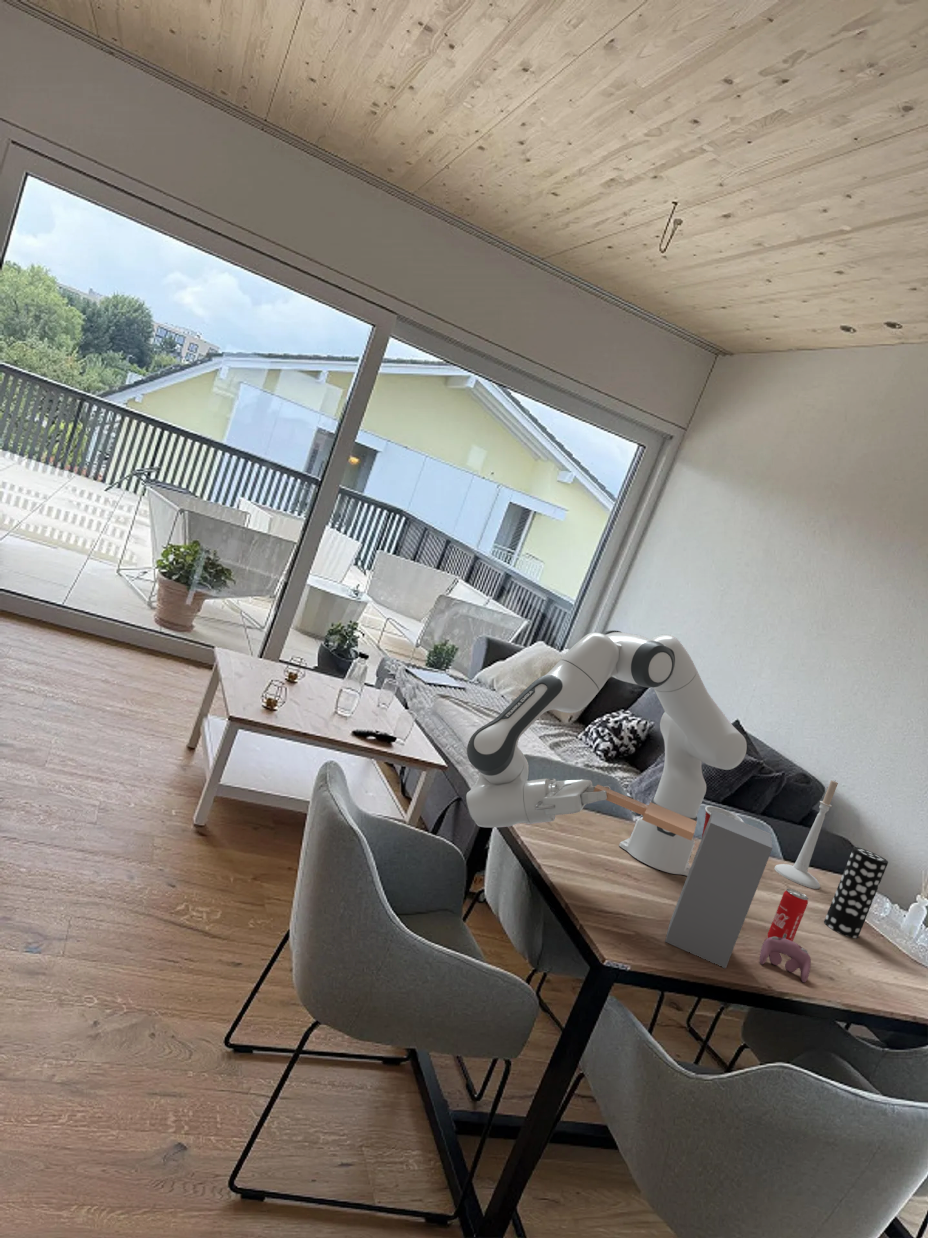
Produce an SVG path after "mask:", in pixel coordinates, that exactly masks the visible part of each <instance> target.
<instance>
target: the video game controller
mask: <svg viewBox="0 0 928 1238" xmlns="http://www.w3.org/2000/svg"><path fill="white" fill-rule="evenodd" d="M782 955H785V956H787V957H789V958H790V959H788V960H787V961H786V962H785V964H784V965H785V966H784V967H785V970H786V971H787V972H789V973H794V972H796V971H797V970H798V969H799V971H800V980H801V982H802V983H806V982H807V981H808V979H809V976H810V973H811V972H810V970H811V965H812V964H811V963H812V962H811V961H812V959H811V955H810V954H809V951H808V950H807V949H805V948H803V946H801V945H800V944H798V943H797V942H795V941H794V940H793V941H790V940H788V939H785V938H780V937H769V938H768V937H767V938H766V939H764V941H763V943H762V945H761V949H760V953H759V963H760V965H764V964H765V963H766V961H767V960H768V958H769V962H770V964H771V965H772V966H773V965H774V966H779V965H781V964H782V961H783V957H782Z"/></svg>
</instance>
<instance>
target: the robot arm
mask: <svg viewBox="0 0 928 1238" xmlns="http://www.w3.org/2000/svg"><path fill="white" fill-rule="evenodd" d="M610 678H614V679H616V680H619V681H621V682H623V683H624V682H625V683H629V684H633V685H638V686H640V687H643V688H652V689H653V690H654V693H655V694H656V696H657V699H658V701H659V703H660V704H661V707H662V709H663V711H664V712H663V714H662V715H661V718H660V720H659V728H660V729H659V730H660V733H661V735H662V738H663V743H664V764H663V771H662V774H661V777H660V780H659V783H658V786H657V789H656V792H655V795H654V798H653V799H651V800H650V802H652V803H654V804H656V805H659V806H661V807H664V808H666V809H668V810H671V811H673V812H676V813H678V814H680V815H683V816H685V817H688V818H690V819H692V820H695V821H697V822H698V813H699V811H700V808H701V805H702V802H703V800H704V797H705V795H706V792H707V783H706V781H705V778H704V775H703V771H702V770H703V769H702V765H703V764H705V765H707V766H710V767H713V768H716V769H719V770H720V769H721V770H725V771H727V770H728V771H729V770H733V769H734V768H737V767H738V766H739V765H741V763H742V762H743V761H744V758H745V757H746V754H747V747H748V745H747V744H748V743H747V740H746V737H745V736H744V735H743V734H742V733H741V732H740V731H739V730H738V729H737V728H736V726H734V725H733V724H732V723H731V721H730V720H729V719H728V717H727V716H726V715H725V714H724V712H723V711H722V710H721V708H720V706H718V704H717V703H716V702H715V700H714V698H713V697H712V696H711V695H710V693H709V692H708V690H707V688H706V686H705V684H704V682H703V680H702V678H701V676H700V673H699V672H698V669H697V667H696V665H695V663H694V661H693V659H692V658H691V656H690V654H689V652H688V650H687V649H686V648H685V647H684V645H683V644H682V642H681V641H680V640H679V639H678V638H677V637H675V636H673V635H671V634H660V635H656V636H654V637H652V638H650V639H649V638H648V637H645V636H642V635H638V634H633V633H628V632H622V631H620V630H605V631H602V632H597V631H596V632H590V633H588V634H585V635H584V636H583V637H582V638H580V639H578V641H577V642H576V643H575V644H574V645H572V647H570V649H569V650H567V651H566V653H564V654H563V656H561V658H560V659H559V660H558V662H557V663H556V664H555V665H554V666H553V667H552V668H551V669H550V670H549V671H548V672H547V673H546V674H545V675H542V676H540V677H538V678H537V679H536V680H534V681H533V682H532V683H531V684H529V685H528V686H527V688H525V689H524V690H523V691H522V692H521V693H520V694H518V696H517V697H516V698H515V699H514V700H512V702H511V703H510V704H509V705H508V706H507V707H506V708H505V709H504V710H503V711H502V712H501V713H500V714H499V715H498V716H496V717H495V718H494V719H493V720H491V721H490V722H487V723H485V724H484V725H482V726H481V727H479V728H478V729H477V730H476V731H474V732H473V734H472V735H471V736H470V738H469V740H468V743H467V747H466V755H467V758H468V759H467V760H468V761H469V763H470V764H471V765H472V766H473V767H474V768H475V769H476V770H477V771H478V773H479V775H478V777H477V780H476V782H475V784H474V785H473V786H472V788H471V789H470V790H469V791H467V793H466V795H465V804H466V809H467V812H468V814H469V817H470V819H471V820H472V821H473V823H474V824H476V825H477V826H478V827H481V828H505V827H506V828H507V827H513V826H515V825H518V824H529V825H532V824H541V823H550V822H554V821H555V818H556V816H559V815H562V816H563V815H571V814H577V813H580V812H581V811H582V810H583V808H584V807H585V806H586V805H588V804H593V803H596V802H600V801H607V800H606V799H607V797H608V796H607V791H605V790H602V791H597V792H593V791H594V789H595V787H596V786H597V785H593V782H592V780H590V779H569V780H557V779H556V778H539V779H531V780H529V776H530V766H529V762H528V760H527V757H525V755H524V753H523V752H522V750H521V749H520V748H519V746H518V743H519V740H520V738H521V737H522V735H523V734H524V733H525V732H526V731H527V730H528V729H530V727H531V726H532V725H533V724H534V723H535V722H536V721H537V720H538V719H539V718H540V717H541V716H542V715H543V714H545V713H547V712H549V711H551V710H555V711H559V712H561V713H568V714H569V713H570V714H571V713H577V712H580V711H581V710H583V709H584V708H586V706H588V705H589V704H590V703H591V702H592V701H593V699H595V697H596V695H598V693H599V692H600V691H601V689H602V688H603V687H604V686H605V684H606V682H607V681H608V680H609V679H610ZM702 763H703V764H702ZM602 786H603V785H602ZM603 787H606V788H608V789H610V790H612V789H611V787H610V785H605V786H603ZM642 819H643V816H642V817H640V818H637V820H636V821H635V824H634V827H633V830H632V831H631V834H630V837H628V838H626V839H625V840H622V841H620V842H619V845H618V846H619V847H620V848H622V849H623V850H625V851H626V852H628V853H629V855H631V856H632V857H633V858H635V859H636V860H638V861H640V862H641V863H644V864H645V865H648V866H649V867H652V868H654V869H656V870H660V871H662V872H665V873H669V874H674V875H683V876H686V877H687V876H688V873H689V871H690V868H691V865H690V863H689V861H690V859H691V856H692V853H693V849H694V847H695V844H696V842H695V839H694V837H693V838H692V840H688V839H686V838H684V837H681V836H679V835H677V834H674V833H672V832H670V831H667V830H665V829H662V828H660V827H658V826H655V825H653V824H651V823H648V822H646V821H644V820H642Z"/></svg>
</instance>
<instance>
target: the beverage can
mask: <svg viewBox="0 0 928 1238" xmlns="http://www.w3.org/2000/svg"><path fill="white" fill-rule="evenodd" d="M808 903H809V897H808V896H807V895H806V894H804V893H802V892H800V891H798V890H796V889H793V888H788V887H787V888H786V889H785V890H784V891H783V893H782V896H781V898H780V902H779V903H778V906H777V909H776V912H775V914H774V917H773V919H772V922H771V924H770V927H769V930H768V932H767V938H769V937H780V938H785V939H788V940H790V941H793V942H794V938H795V937H796V934H797V932H798V929H799V926H800V924H801V921H802V920H803V917H804V915H805V913H806V912H805V911H806V909H807V906H808Z"/></svg>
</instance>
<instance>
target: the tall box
mask: <svg viewBox="0 0 928 1238" xmlns="http://www.w3.org/2000/svg"><path fill="white" fill-rule="evenodd" d="M773 847H774V846H773V842H772V834H771V832H768V831H765V830H763V829H761V828H758V827H756V826H754V825H751V824H748V823H745V821H744V822H741V821H739V820H736V819H734V818H731V817H729V816H726V815H724V814H722V813H719V812H717V811H714V810H712V813H711V816H710V818H709V821H708V823H707V826H706V829H705V831H704V834H703V836H702V835H701V839H700V842H699V845H698V847H697V850H696V851H695V852H696V853H695V855H694V857H693V860H692V864H691V865H690V867H691V868H690V871H689V873H688V876H686V879H685V881H684V885H683V886H682V889H681V892H680V894H679V896H678V899H677V902H676V906H675V907H674V911H673V913H672V915H671V917H670V921H669V924H668V928H667V933H666V936H665V943H668V944H669V945H672V946H674V947H675V948H678V949H680V950H683V951H685V952H687V953H689V952H690V954H691V955H694V956H696V955H697V956H696V957H698V956H699V958H700V957H701V958H700V959H703V960H705V959H706V961H707V962H709V961H710V962H709V963H712V964H714V963H715V964H714V965H716V964H718V965H719V967H720V966H722V967H721V968H723V969H725V968H726V969H727V966H728V964H729V961H730V959H731V956H732V953H733V951H734V948H735V945H736V943H737V940H738V938H739V936H740V932H742V931H741V930H742V928H743V925H744V923H745V921H746V917H747V915H748V912H749V909H750V907H751V905H752V902H753V900H754V897H755V894H756V892H757V889H758V887H759V884H760V882H761V879H762V876H763V874H764V871H765V869H766V866H767V863H768V861H769V858H770V856H771V854H772V852H773ZM718 965H717V966H718Z"/></svg>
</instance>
